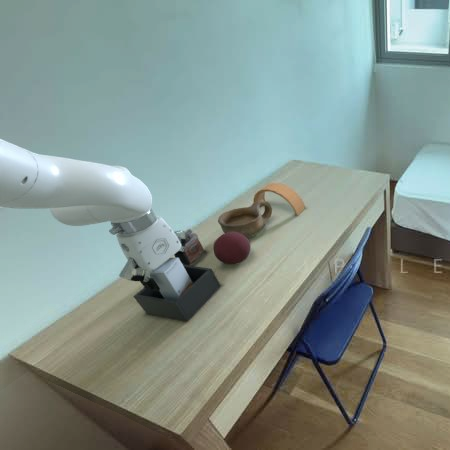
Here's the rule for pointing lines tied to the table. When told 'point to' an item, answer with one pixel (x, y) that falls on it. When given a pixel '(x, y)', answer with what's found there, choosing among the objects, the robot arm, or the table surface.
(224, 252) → the decorative ball
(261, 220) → the bowl
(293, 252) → the table surface
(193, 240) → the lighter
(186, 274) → the cosmetic box
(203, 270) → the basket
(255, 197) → the arch
